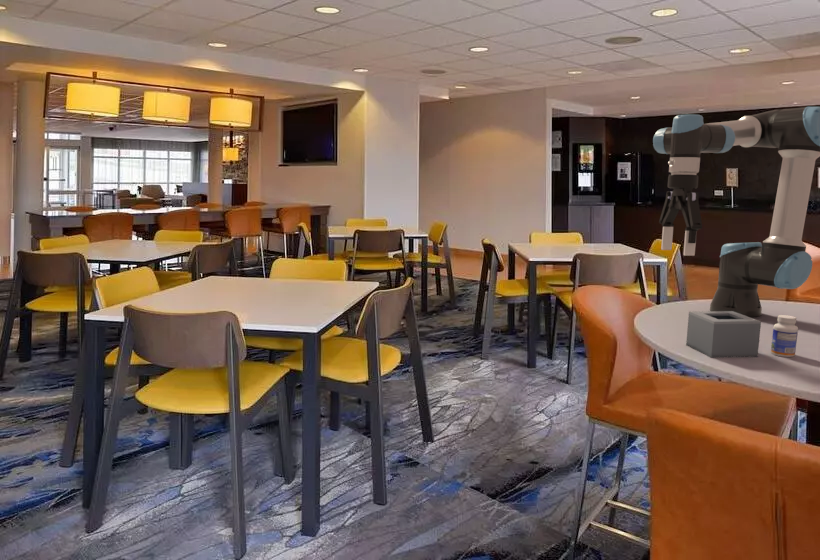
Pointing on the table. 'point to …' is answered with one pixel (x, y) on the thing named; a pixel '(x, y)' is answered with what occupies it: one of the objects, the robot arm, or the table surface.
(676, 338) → the table surface
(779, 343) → the pill bottle
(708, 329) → the drop box
